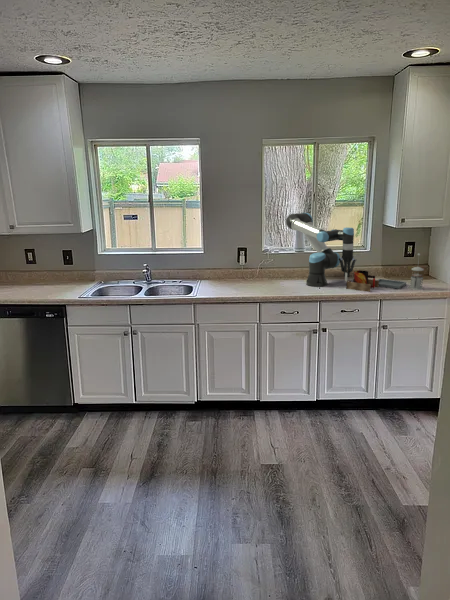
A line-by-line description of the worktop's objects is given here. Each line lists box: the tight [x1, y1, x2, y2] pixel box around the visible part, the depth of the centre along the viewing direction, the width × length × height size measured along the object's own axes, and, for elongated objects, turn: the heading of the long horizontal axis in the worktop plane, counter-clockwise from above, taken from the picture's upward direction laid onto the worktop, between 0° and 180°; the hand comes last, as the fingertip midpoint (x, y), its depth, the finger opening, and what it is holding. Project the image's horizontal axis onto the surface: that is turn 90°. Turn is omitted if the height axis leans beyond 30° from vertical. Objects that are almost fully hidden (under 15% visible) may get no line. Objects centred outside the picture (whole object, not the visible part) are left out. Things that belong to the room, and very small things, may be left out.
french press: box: [408, 252, 425, 291], centre depth 299 cm, size 10×12×25 cm
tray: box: [377, 278, 407, 290], centre depth 314 cm, size 20×16×2 cm
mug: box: [353, 269, 376, 289], centre depth 307 cm, size 10×14×12 cm
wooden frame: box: [345, 278, 379, 293], centre depth 308 cm, size 17×16×5 cm
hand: (346, 281), depth 315 cm, fingers closed
